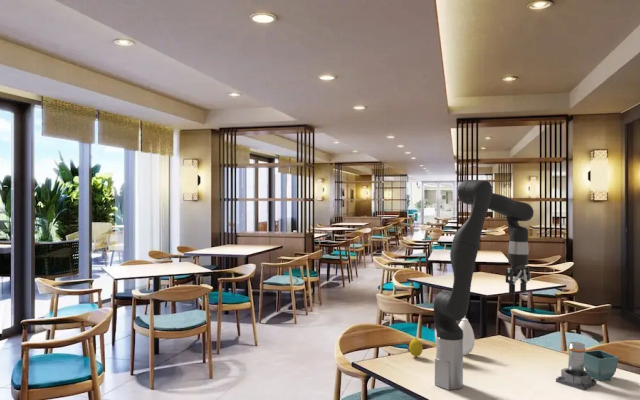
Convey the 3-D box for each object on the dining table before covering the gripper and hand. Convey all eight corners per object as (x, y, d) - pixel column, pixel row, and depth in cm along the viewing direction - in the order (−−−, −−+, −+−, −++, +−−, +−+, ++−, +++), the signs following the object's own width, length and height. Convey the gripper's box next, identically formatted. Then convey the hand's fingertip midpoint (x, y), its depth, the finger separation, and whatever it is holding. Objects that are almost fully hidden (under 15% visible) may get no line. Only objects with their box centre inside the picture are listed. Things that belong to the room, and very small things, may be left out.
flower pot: (599, 383, 177) (599, 358, 177) (580, 375, 186) (580, 351, 186) (618, 381, 180) (619, 357, 180) (599, 373, 188) (599, 349, 188)
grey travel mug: (580, 383, 174) (581, 347, 174) (564, 378, 178) (565, 343, 178) (587, 379, 177) (588, 344, 177) (571, 375, 182) (572, 340, 182)
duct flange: (584, 390, 170) (584, 379, 170) (555, 381, 178) (555, 371, 178) (596, 383, 177) (596, 373, 177) (568, 375, 185) (568, 366, 185)
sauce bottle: (477, 354, 209) (477, 313, 209) (467, 358, 204) (467, 315, 204) (461, 350, 215) (462, 309, 215) (451, 354, 210) (451, 312, 210)
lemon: (413, 354, 209) (413, 335, 209) (424, 357, 206) (424, 338, 206) (406, 357, 205) (406, 338, 205) (418, 360, 201) (418, 341, 201)
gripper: (517, 254, 190) (516, 295, 190) (536, 252, 199) (535, 292, 198) (500, 252, 196) (499, 292, 196) (519, 251, 205) (518, 290, 204)
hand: (517, 292), depth 197 cm, fingers open, 8 cm apart
